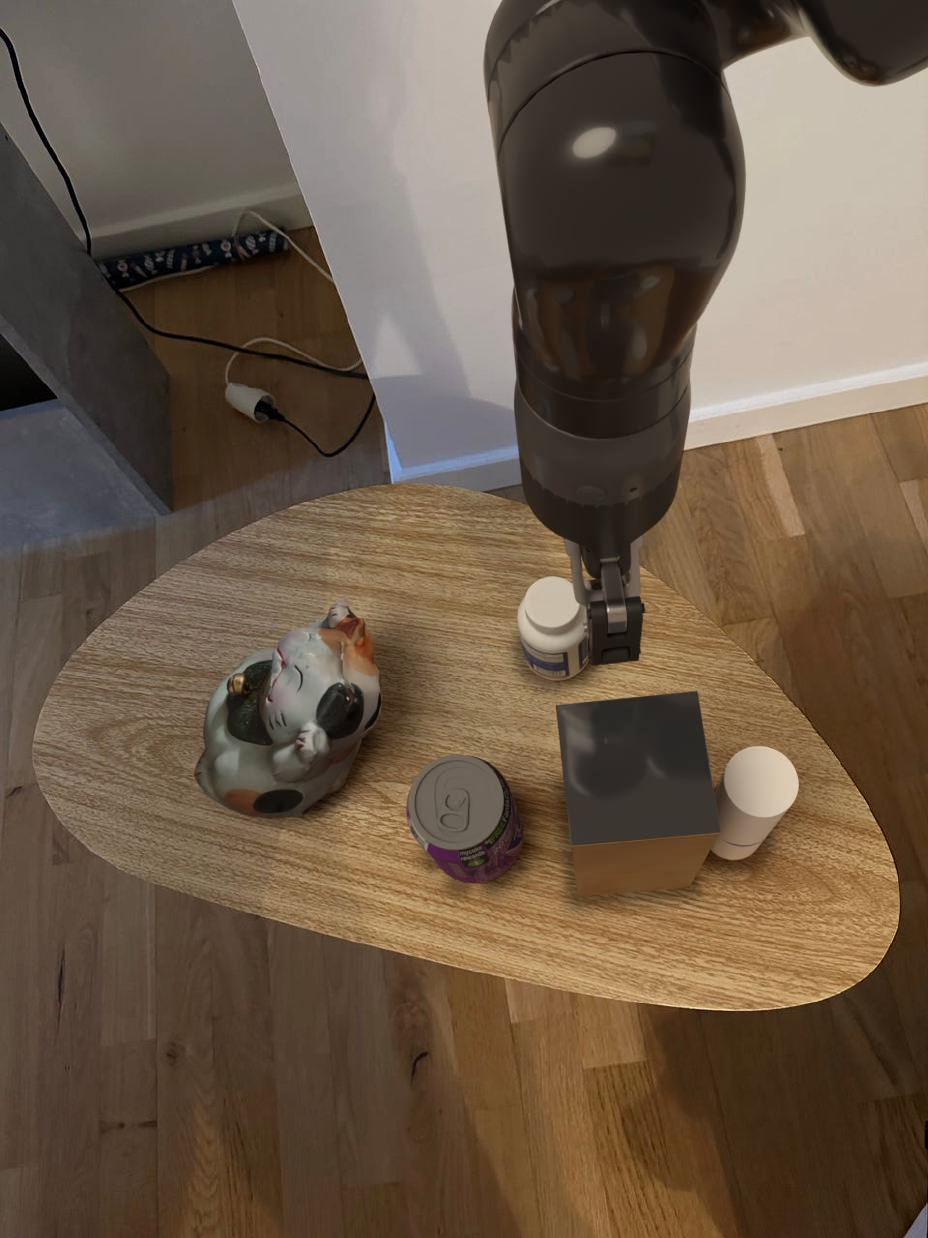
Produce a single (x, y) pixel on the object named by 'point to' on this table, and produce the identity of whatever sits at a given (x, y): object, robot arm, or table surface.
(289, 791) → the lucky cat figurine
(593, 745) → the slate coaster
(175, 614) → the table surface
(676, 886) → the walnut plinth
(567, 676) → the pill bottle
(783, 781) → the tube
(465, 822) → the beverage can
